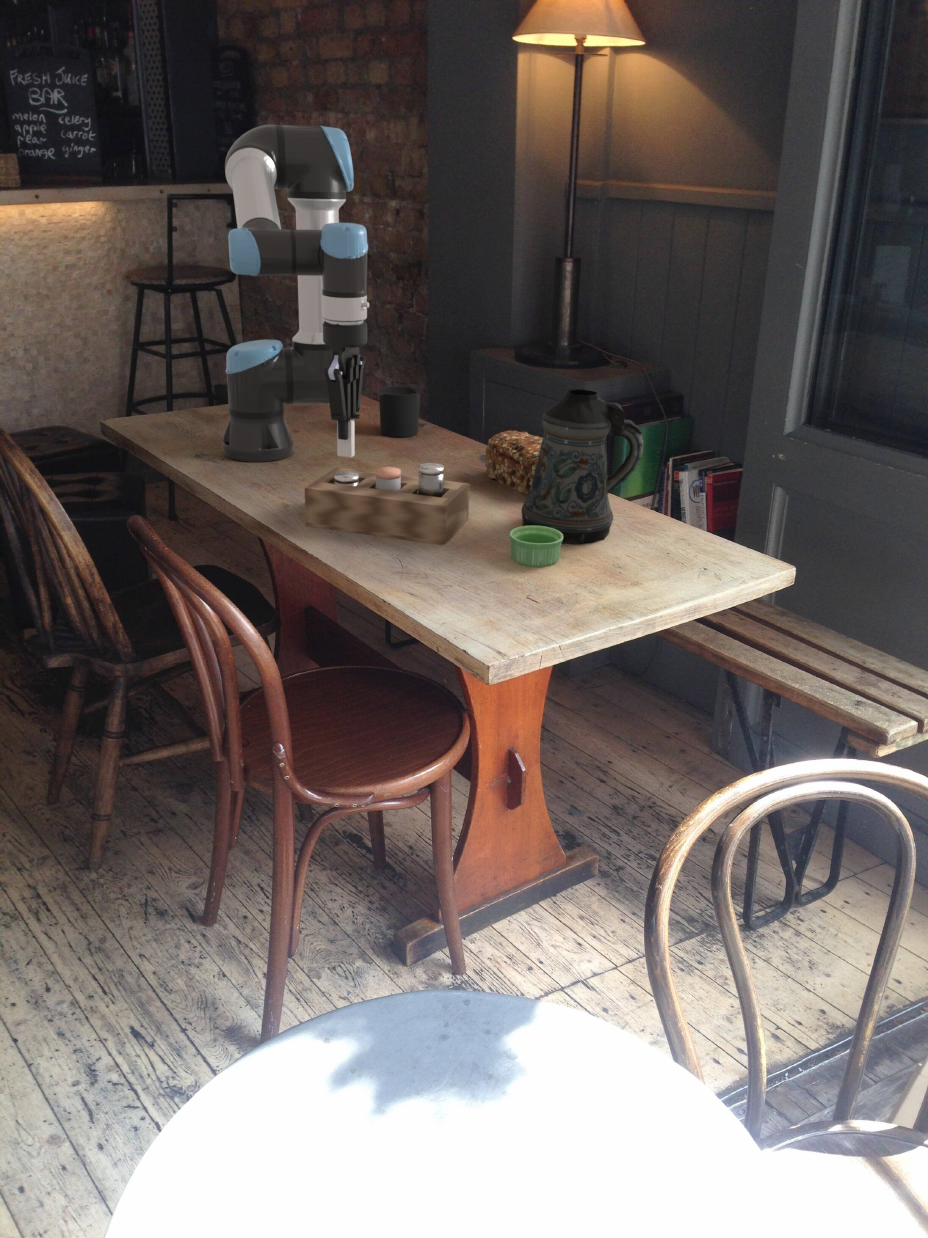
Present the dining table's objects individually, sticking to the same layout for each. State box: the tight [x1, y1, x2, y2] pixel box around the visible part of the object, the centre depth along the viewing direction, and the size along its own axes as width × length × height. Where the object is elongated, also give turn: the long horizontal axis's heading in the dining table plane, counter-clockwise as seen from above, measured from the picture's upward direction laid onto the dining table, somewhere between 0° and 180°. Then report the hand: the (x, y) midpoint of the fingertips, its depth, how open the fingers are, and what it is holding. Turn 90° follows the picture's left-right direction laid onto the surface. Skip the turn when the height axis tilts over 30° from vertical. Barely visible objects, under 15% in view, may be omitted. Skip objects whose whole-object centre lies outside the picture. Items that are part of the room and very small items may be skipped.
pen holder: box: [378, 385, 421, 439], centre depth 253 cm, size 9×9×10 cm
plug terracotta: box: [375, 466, 402, 492], centre depth 195 cm, size 4×4×6 cm
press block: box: [304, 466, 471, 546], centre depth 196 cm, size 26×14×7 cm, turn 73°
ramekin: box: [508, 525, 563, 568], centre depth 183 cm, size 9×9×4 cm
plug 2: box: [418, 462, 445, 498], centre depth 192 cm, size 4×4×6 cm
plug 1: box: [334, 471, 359, 486], centre depth 197 cm, size 4×4×6 cm
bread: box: [484, 429, 543, 495], centre depth 219 cm, size 19×11×10 cm, turn 35°
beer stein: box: [520, 389, 644, 546], centre depth 193 cm, size 16×19×25 cm
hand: (346, 455), depth 195 cm, fingers closed
